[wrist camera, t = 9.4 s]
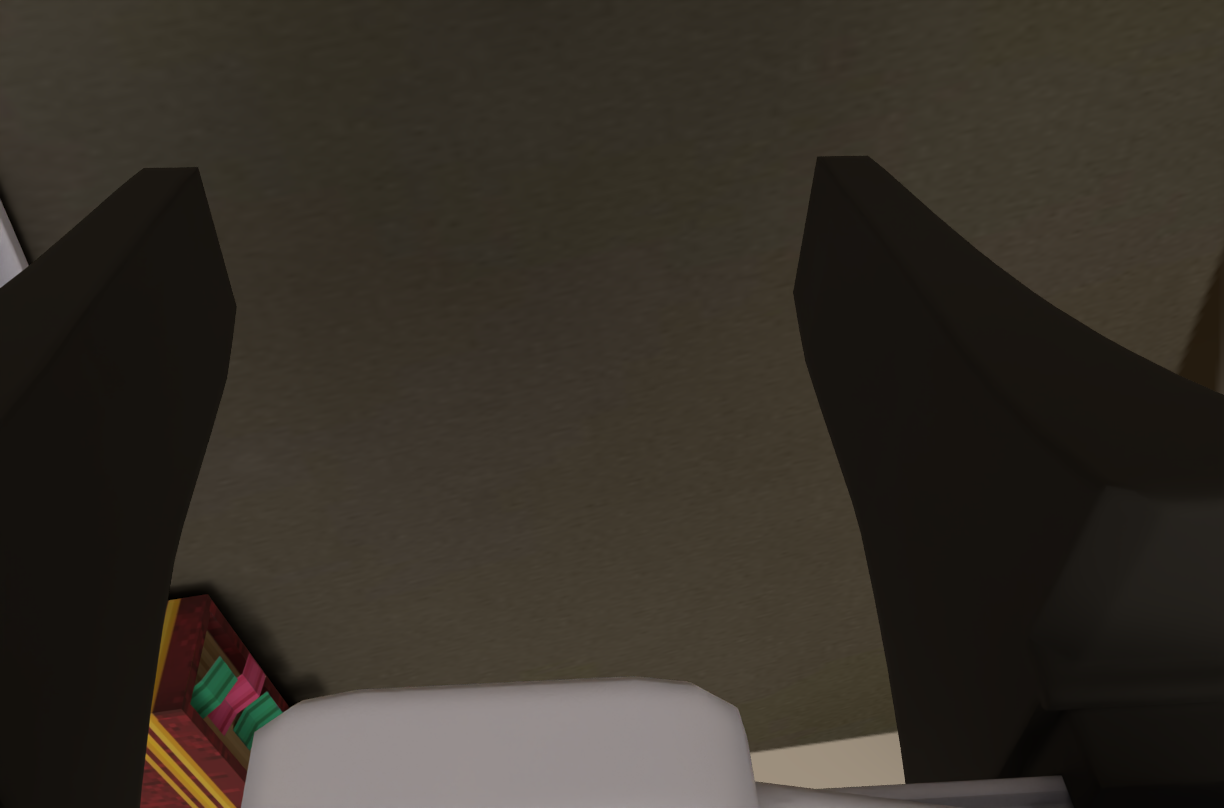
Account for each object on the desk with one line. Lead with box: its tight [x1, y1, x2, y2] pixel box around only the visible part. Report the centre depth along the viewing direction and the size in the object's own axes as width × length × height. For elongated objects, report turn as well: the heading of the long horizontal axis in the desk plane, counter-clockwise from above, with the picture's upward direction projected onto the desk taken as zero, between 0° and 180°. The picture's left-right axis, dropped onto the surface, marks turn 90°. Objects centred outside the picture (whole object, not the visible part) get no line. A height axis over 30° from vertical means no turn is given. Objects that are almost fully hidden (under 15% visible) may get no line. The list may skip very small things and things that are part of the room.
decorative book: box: [140, 594, 290, 808], centre depth 36 cm, size 11×16×5 cm
